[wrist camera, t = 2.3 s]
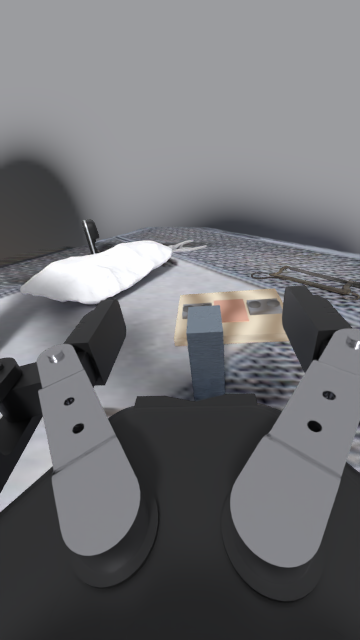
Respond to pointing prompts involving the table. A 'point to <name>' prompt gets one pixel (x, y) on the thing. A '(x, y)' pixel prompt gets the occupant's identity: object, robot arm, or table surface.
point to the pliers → (184, 248)
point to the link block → (206, 351)
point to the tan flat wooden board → (238, 315)
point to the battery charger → (91, 234)
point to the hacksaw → (333, 289)
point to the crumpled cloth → (98, 273)
